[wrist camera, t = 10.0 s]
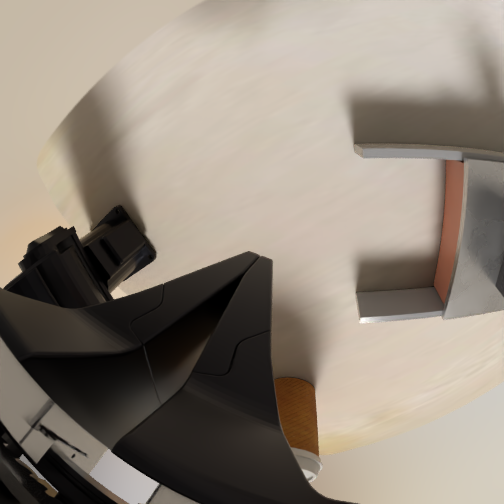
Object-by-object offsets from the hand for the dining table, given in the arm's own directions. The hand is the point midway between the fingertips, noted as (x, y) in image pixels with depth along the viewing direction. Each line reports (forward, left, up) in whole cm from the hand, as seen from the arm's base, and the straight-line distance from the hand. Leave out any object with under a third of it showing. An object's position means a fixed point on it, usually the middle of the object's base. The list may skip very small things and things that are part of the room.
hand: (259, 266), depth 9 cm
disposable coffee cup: (-13, -22, -13) cm, 29 cm away
